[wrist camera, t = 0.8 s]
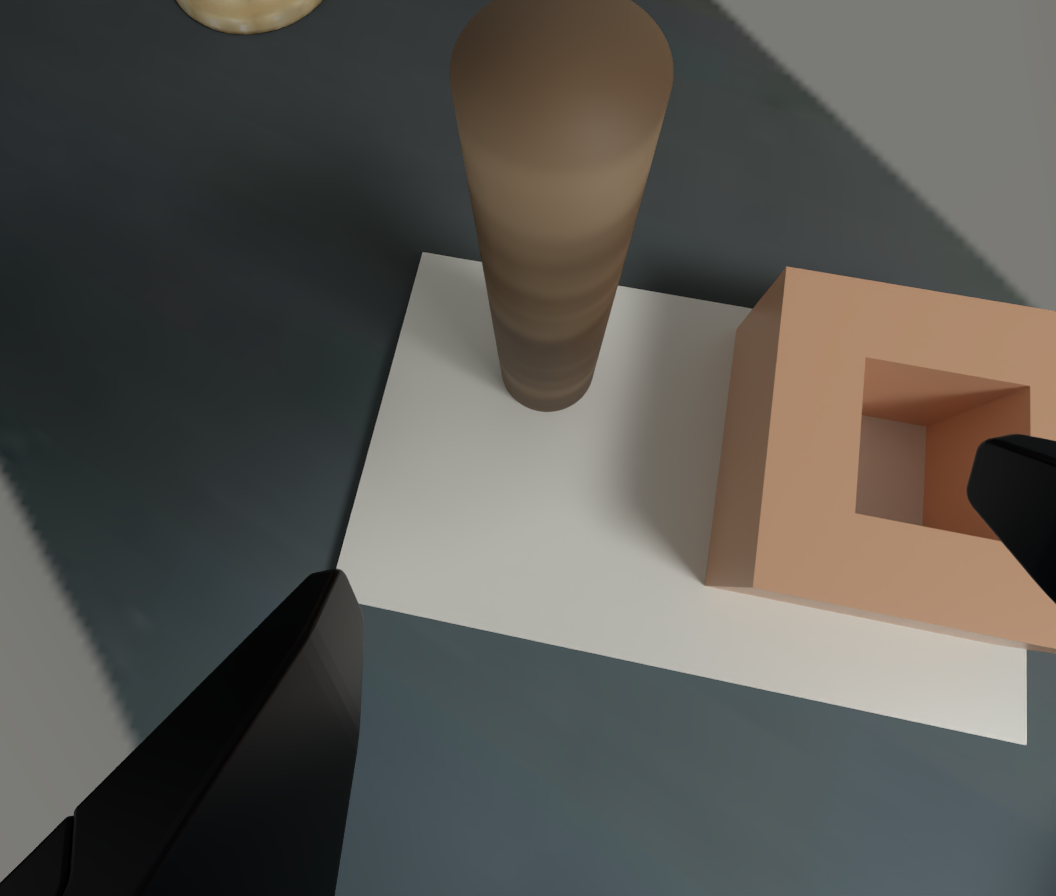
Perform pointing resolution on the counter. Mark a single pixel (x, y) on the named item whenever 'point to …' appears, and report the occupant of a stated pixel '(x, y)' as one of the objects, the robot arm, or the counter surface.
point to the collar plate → (622, 515)
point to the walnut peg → (556, 173)
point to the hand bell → (247, 14)
